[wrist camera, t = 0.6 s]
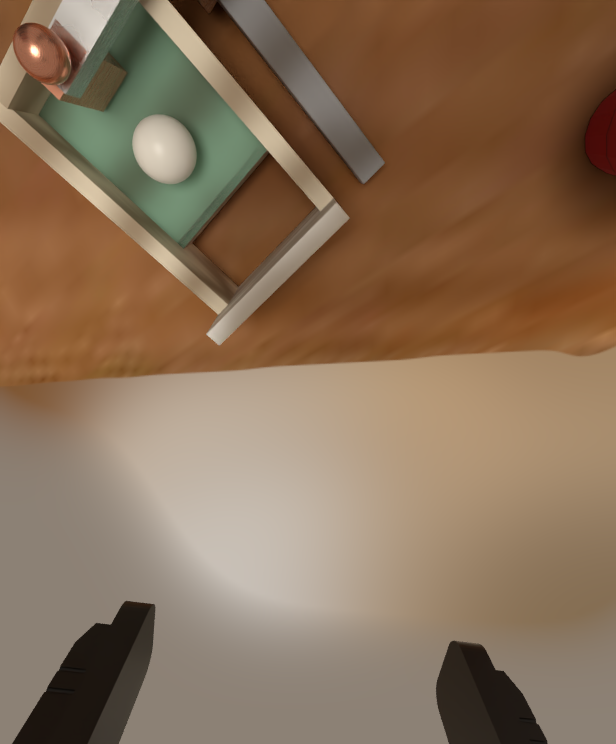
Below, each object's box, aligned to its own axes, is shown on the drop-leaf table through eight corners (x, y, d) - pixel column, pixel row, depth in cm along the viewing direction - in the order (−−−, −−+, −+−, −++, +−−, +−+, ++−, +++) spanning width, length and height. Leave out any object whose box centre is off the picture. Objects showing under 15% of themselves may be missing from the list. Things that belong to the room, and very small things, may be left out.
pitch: (37, 118, 27) (-73, 98, 20) (170, -118, 22) (91, -279, 14) (239, 304, 34) (219, 345, 27) (380, 163, 29) (407, 161, 21)
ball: (135, 150, 26) (108, 148, 23) (168, 103, 25) (145, 92, 21) (180, 195, 28) (162, 199, 24) (214, 152, 26) (200, 150, 23)
